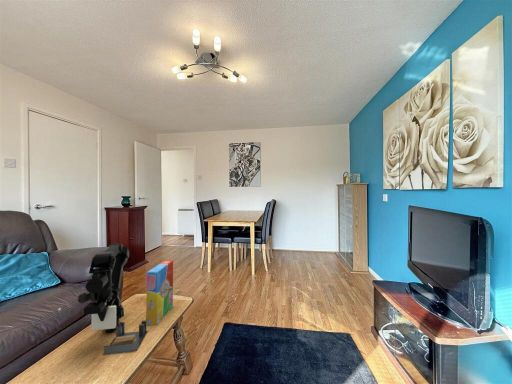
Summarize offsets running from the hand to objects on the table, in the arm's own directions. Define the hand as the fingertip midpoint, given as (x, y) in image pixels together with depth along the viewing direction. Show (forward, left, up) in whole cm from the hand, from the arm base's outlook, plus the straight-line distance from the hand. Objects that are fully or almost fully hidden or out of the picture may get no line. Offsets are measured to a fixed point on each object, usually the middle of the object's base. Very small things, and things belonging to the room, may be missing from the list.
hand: (103, 320), depth 96 cm
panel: (0, 0, -4) cm, 4 cm away
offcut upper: (+2, +9, -9) cm, 13 cm away
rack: (-2, +9, -12) cm, 15 cm away
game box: (-23, +17, -12) cm, 31 cm away
